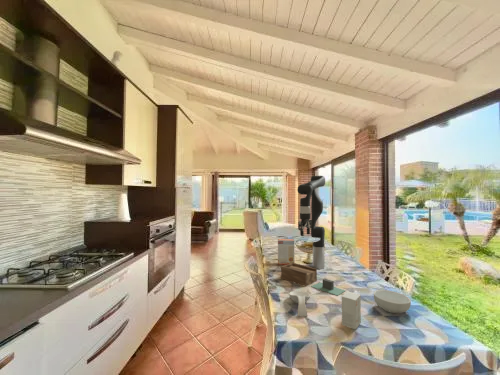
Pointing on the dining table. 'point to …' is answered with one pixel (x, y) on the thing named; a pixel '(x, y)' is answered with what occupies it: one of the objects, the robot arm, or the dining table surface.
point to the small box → (351, 310)
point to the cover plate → (338, 291)
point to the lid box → (299, 274)
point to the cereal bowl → (392, 301)
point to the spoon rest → (300, 301)
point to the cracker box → (285, 251)
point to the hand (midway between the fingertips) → (305, 235)
